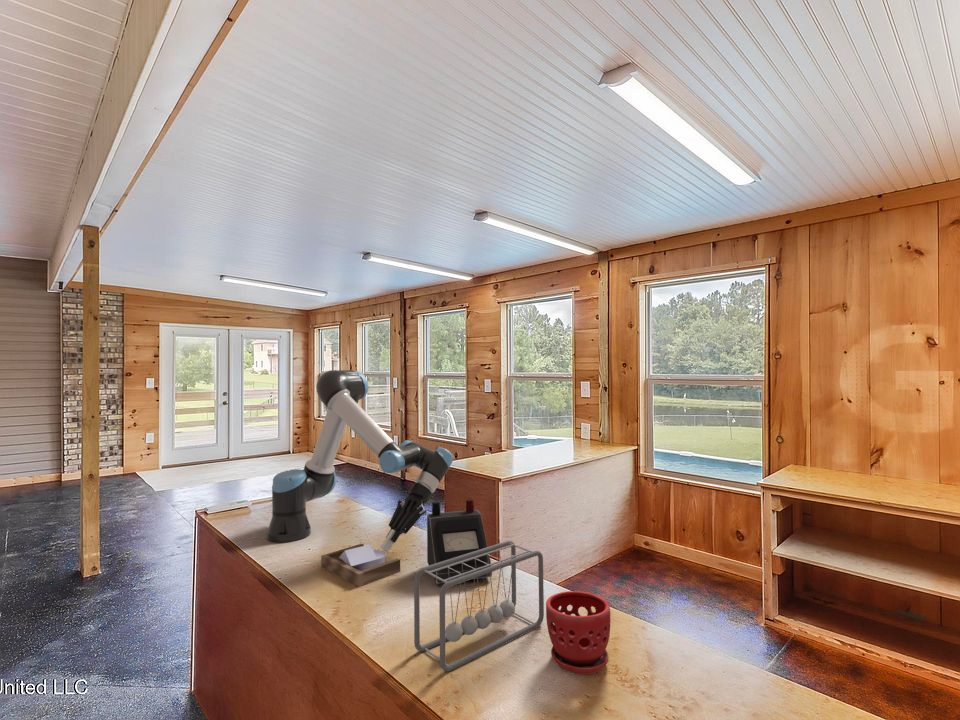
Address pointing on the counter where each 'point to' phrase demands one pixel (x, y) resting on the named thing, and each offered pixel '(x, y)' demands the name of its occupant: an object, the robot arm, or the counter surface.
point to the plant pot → (578, 631)
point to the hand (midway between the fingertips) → (384, 549)
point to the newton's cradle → (481, 617)
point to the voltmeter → (455, 540)
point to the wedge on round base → (363, 557)
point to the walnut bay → (354, 575)
